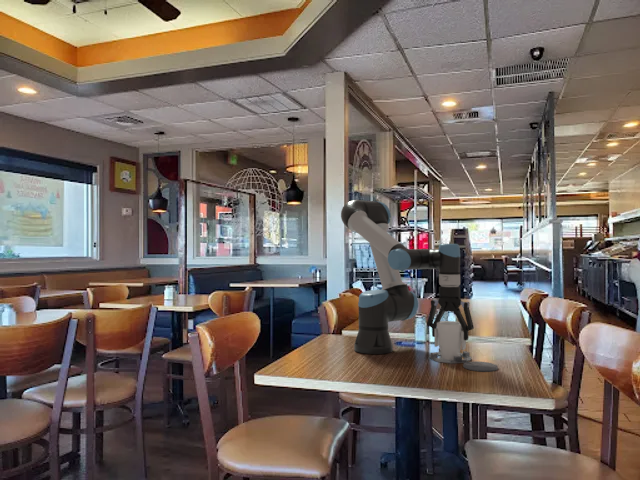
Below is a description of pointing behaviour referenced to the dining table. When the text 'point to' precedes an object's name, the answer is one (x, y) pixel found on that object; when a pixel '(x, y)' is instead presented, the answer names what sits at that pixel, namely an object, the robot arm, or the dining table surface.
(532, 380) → the dining table surface
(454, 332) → the foam cup
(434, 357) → the collar
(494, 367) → the coaster
